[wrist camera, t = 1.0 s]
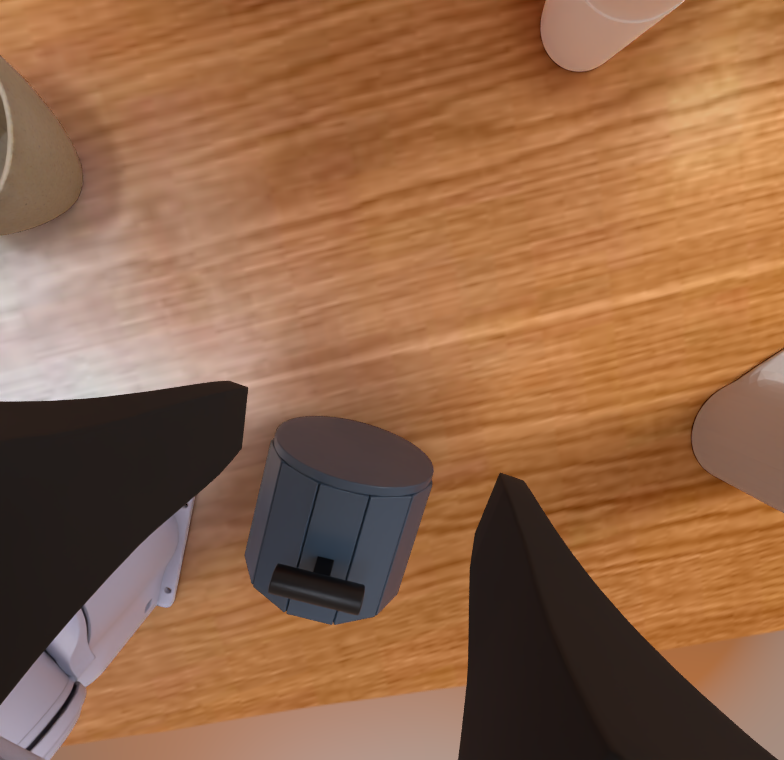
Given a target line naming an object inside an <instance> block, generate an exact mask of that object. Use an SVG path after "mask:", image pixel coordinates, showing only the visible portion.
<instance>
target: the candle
mask: <svg viewBox="0 0 784 760" xmlns="http://www.w3.org/2000/svg"><path fill="white" fill-rule="evenodd" d="M692 446H693V450H694V454H695V456H696V458H697V460H698V462H699V463H700V464H701V466H702V467H703V468H704V469H705V470H706V471H708V472H709V473H710V474H712V475H714V476H715V477H717V478H719V479H721V480H723V481H725V482H727V483H728V484H730V485H732V486H734V487H736V488H738V489H740V490H741V491H743V492H745V493H747V494H749V495H751V496H753V497H754V498H756V499H758V500H760V501H762V502H764V503H766V504H767V505H769V506H771V507H773V508H775V509H777V510H779V511H781V512H783V513H784V350H782V351H780V352H779V353H777V354H776V355H774V356H773V357H771V358H769V359H768V360H766V361H765V362H763V363H762V364H760V365H758V366H757V367H755V368H754V369H753V370H751V371H750V372H748V373H747V374H745V375H744V376H743V377H741V378H740V379H738V380H737V381H735V382H733V383H731V384H729V385H728V386H726V387H724V388H722V389H720V390H719V391H718V392H716V393H715V394H714V395H713V396H712V397H711V398H710V399H709V400H707V401H706V403H705V404H704V405H703V407H702V408H701V410H700V411H699V413H698V415H697V417H696V420H695V422H694V425H693V430H692Z"/></svg>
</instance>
